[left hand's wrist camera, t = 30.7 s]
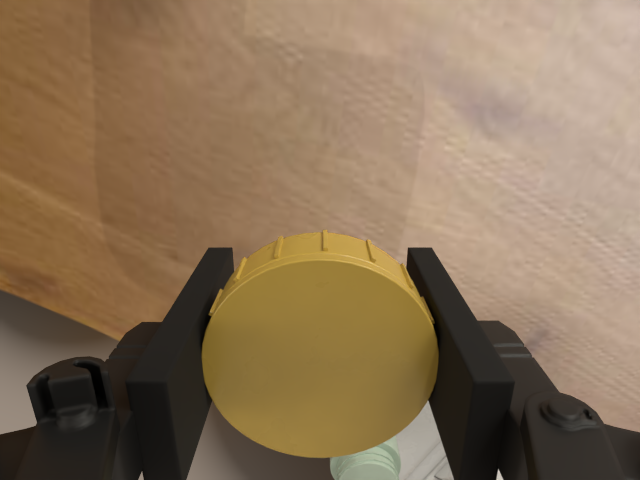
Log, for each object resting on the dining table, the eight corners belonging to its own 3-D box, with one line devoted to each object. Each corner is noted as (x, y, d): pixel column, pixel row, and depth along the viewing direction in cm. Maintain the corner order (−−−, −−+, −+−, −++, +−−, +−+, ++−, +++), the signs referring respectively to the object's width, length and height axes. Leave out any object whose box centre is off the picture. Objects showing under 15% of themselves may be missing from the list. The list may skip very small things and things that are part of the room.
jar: (386, 341, 44) (420, 476, 29) (359, 376, 45) (378, 522, 31) (344, 318, 43) (356, 446, 28) (317, 355, 44) (316, 495, 30)
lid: (201, 390, 13) (184, 437, 11) (234, 207, 11) (220, 231, 9) (389, 426, 13) (399, 476, 12) (454, 257, 11) (476, 289, 10)
